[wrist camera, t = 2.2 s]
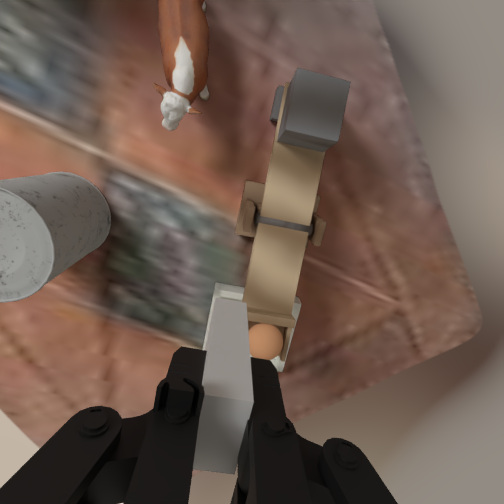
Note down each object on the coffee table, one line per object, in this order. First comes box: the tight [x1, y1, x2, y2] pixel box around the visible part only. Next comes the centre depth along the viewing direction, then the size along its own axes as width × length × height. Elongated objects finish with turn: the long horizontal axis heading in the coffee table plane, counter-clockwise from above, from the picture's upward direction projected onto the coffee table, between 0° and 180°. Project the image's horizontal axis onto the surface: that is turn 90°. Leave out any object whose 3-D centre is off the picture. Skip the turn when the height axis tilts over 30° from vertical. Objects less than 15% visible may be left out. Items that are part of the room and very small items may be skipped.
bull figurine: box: [152, 0, 210, 131], centre depth 29 cm, size 4×13×8 cm, turn 176°
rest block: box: [270, 85, 284, 122], centre depth 33 cm, size 3×6×2 cm, turn 78°
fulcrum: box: [235, 180, 327, 248], centre depth 34 cm, size 6×8×7 cm
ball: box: [249, 323, 283, 360], centre depth 31 cm, size 4×4×4 cm
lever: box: [242, 68, 351, 362], centre depth 30 cm, size 26×6×5 cm, turn 168°
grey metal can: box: [0, 172, 111, 302], centre depth 31 cm, size 10×10×12 cm
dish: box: [202, 282, 302, 372], centre depth 41 cm, size 10×11×2 cm
